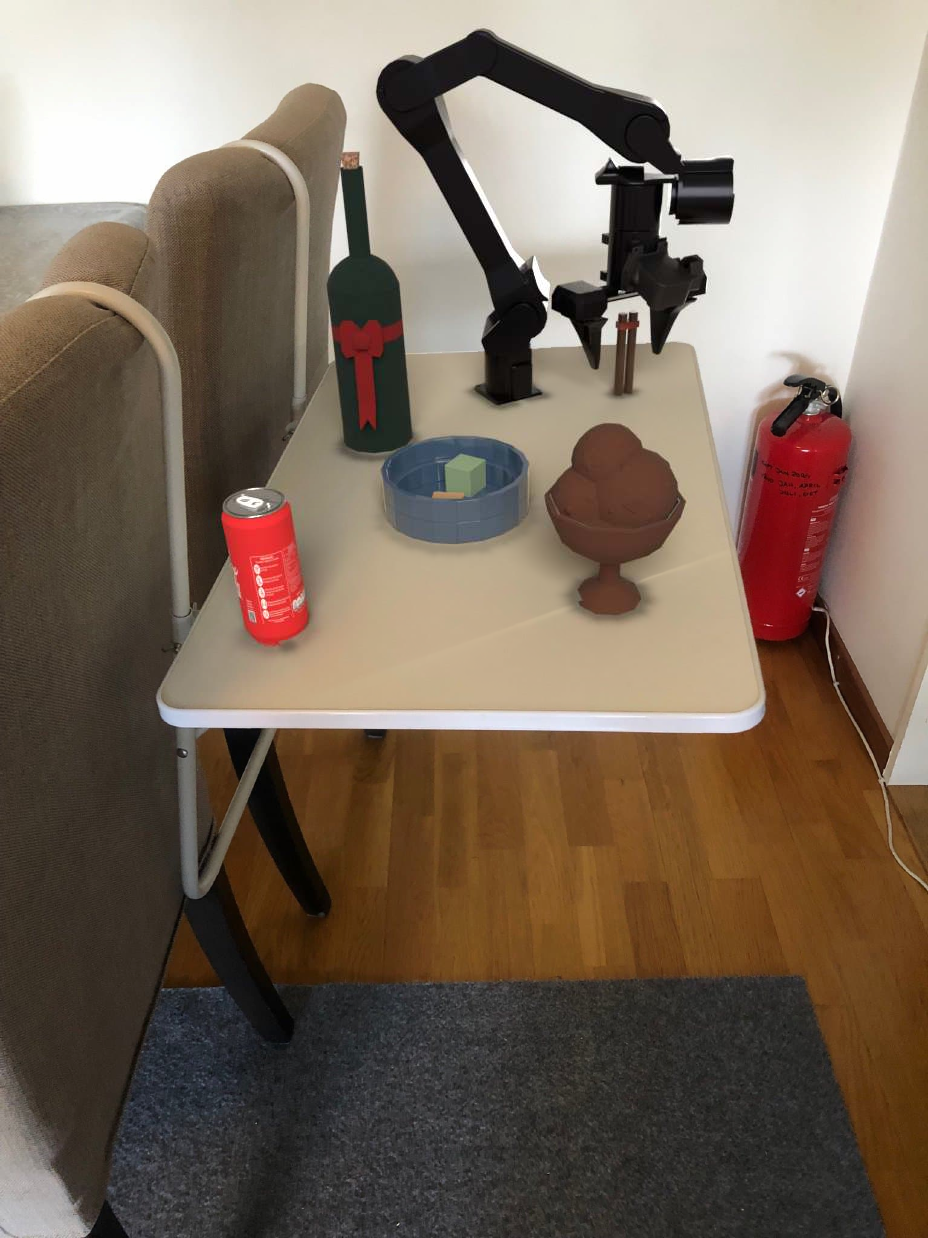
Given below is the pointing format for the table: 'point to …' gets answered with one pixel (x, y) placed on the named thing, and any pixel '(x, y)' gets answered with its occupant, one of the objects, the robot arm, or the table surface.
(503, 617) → the table surface
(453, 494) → the beech block
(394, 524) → the bowl
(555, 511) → the ice cream bowl
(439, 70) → the robot arm
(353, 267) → the wine bottle
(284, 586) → the beverage can
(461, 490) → the sage block
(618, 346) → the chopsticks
